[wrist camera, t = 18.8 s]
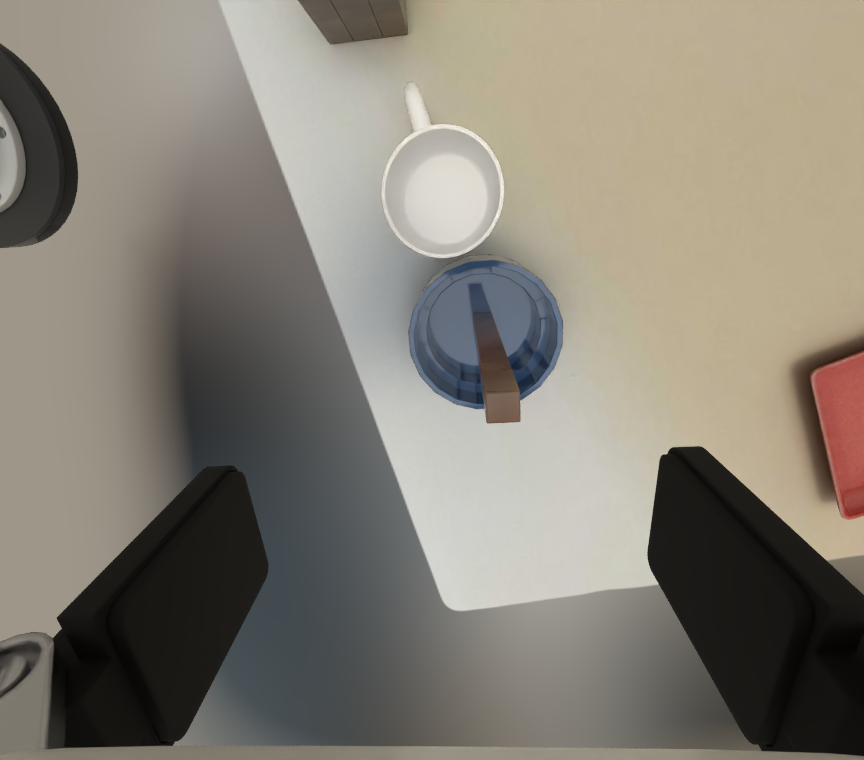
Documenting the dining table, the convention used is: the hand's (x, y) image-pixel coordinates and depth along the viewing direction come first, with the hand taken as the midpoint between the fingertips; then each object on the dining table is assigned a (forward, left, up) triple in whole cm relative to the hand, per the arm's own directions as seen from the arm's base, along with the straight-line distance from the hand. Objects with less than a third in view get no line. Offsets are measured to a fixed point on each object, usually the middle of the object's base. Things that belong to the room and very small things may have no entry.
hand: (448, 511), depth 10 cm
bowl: (+2, -4, -33) cm, 34 cm away
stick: (+2, -3, -33) cm, 33 cm away
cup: (-1, +10, -34) cm, 35 cm away
